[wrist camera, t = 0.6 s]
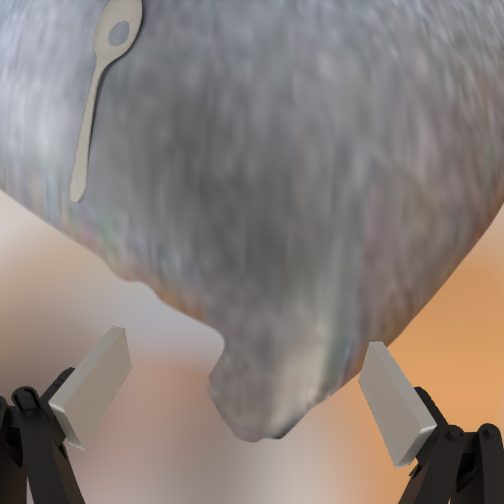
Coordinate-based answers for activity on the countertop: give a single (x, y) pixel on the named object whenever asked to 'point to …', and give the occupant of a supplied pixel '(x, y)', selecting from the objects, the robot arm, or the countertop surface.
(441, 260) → the countertop surface
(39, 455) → the robot arm
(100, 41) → the spoon
